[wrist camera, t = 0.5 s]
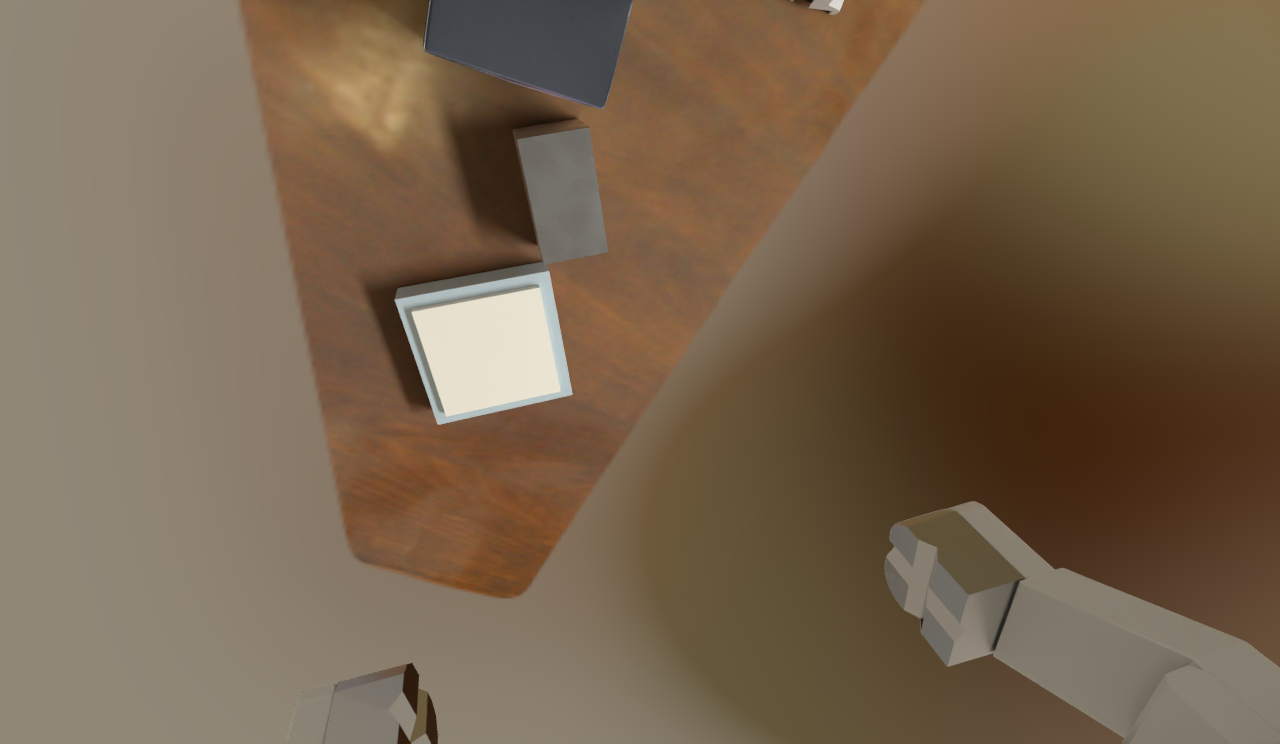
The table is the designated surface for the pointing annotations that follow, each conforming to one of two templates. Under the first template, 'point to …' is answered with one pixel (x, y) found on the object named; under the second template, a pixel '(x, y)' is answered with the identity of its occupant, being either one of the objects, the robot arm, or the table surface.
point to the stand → (486, 341)
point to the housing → (561, 189)
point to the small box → (534, 42)
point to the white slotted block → (826, 5)
